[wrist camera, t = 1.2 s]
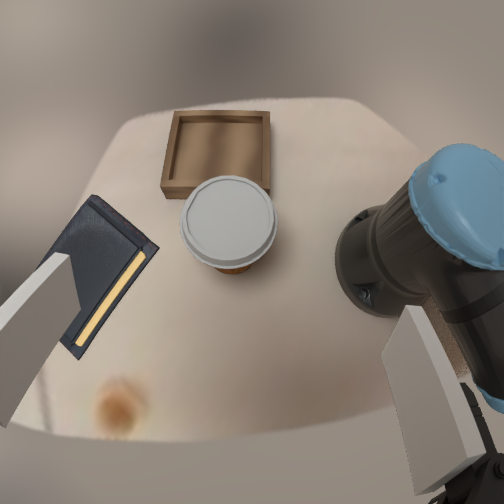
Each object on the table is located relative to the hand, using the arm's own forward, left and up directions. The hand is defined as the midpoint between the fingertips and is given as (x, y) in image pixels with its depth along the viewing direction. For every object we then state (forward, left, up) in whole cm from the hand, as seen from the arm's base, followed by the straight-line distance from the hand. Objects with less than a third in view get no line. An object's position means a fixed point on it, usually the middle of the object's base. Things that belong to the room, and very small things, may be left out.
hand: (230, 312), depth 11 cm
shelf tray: (+4, -24, -28) cm, 37 cm away
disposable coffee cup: (+1, -10, -28) cm, 30 cm away
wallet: (+22, -6, -29) cm, 37 cm away
